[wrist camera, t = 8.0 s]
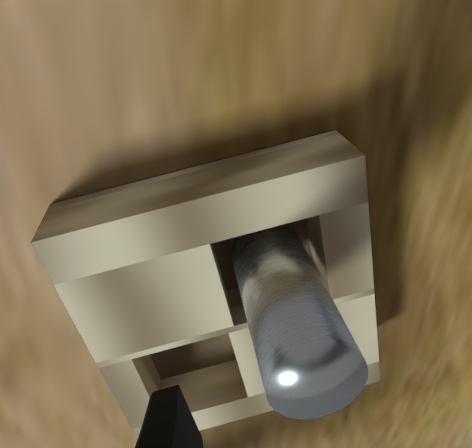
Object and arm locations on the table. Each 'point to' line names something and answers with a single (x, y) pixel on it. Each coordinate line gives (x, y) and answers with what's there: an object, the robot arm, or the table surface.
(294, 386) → the pin
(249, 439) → the table surface
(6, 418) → the table surface
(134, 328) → the socket block
